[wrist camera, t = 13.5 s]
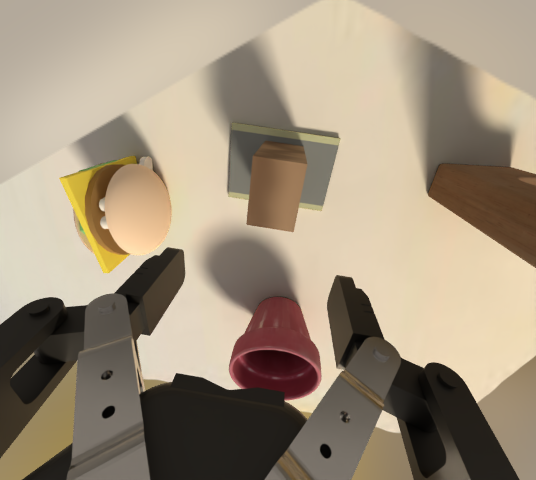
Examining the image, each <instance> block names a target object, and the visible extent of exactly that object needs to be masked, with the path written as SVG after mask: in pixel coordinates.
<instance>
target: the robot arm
mask: <svg viewBox="0 0 536 480" xmlns="http://www.w3.org/2000/svg"><path fill="white" fill-rule="evenodd" d="M184 279H185V263H184V252H183V250H181V249H175V248H169V247H168V248H166V249H165V250H164V251H163V252H162V254H161V255H160V256H158V255H155V256H153V257H151V258H149V259H147V260H146V261H145V262H144V263H143V264H142V265H141V266H140V268H138V269H137V270H136V271H135V273H134V274H132V275H131V276H130V277H129V278H128V279H127V281H126V282H125V283H124V284H123V285H122V286H121V287H120V288H119V289H118V290H117V291H116V292H115V293H114V294H106V295H103V296H100V297H98V298H96V299H94V300H93V301H92V302H90V303H89V304H88V305H86V306H74V307H65V305H64V303H63V301H62V300H61V299H59V298H54V297H49V298H43V299H39V300H36V301H33V302H31V303H29V304H27V305H25V306H24V307H22V308H21V309H19V310H18V311H17V312H16V313H14V314H13V315H12V316H11V317H9V318H8V319H7V320H6V321H4V322H3V323H2V324H1V325H0V458H1V456H2V455H3V454H4V453H5V451H6V450H7V449H8V448H9V447H10V445H11V444H12V443H13V441H14V440H15V439H16V438H17V436H18V435H19V434H20V433H21V431H22V430H23V428H24V427H25V426H26V425H27V424H28V422H29V421H30V420H31V419H32V417H33V416H34V415H35V413H36V412H37V411H38V410H39V408H40V407H41V406H42V404H43V403H44V402H45V401H46V399H47V398H48V397H49V396H50V394H51V393H52V392H53V390H54V389H55V388H56V387H57V385H58V384H59V383H60V381H61V380H62V379H63V378H64V377H65V375H66V374H67V373H68V371H69V370H70V369H71V368H72V366H73V365H74V364H75V363H76V361H77V360H78V362H77V380H76V381H77V382H76V396H75V414H74V431H73V432H74V433H73V443H72V444H71V445H69V446H68V447H66V448H65V449H64V450H62V451H61V452H59V453H58V454H57V455H55V456H54V457H53V458H51V459H50V460H49V461H47V462H46V463H44V464H43V465H42V466H40V467H39V468H37V469H36V470H35V471H33V472H32V473H31V474H29V475H28V476H26V477H25V478H24V479H22V480H351V479H352V477H353V475H354V472H355V470H356V468H357V466H358V463H359V461H360V459H361V456H362V454H363V452H364V450H365V447H366V445H367V443H368V441H369V439H370V437H371V434H372V432H373V430H374V428H375V425H376V423H377V421H378V419H379V416H380V414H381V412H382V410H384V411H386V412H388V413H390V414H392V415H393V416H395V417H397V420H398V424H399V427H400V431H401V434H402V438H403V442H404V445H405V449H406V452H407V456H408V460H409V464H410V467H411V471H412V475H413V478H414V480H519V478H518V476H517V474H516V472H515V471H514V469H513V467H512V466H511V464H510V462H509V460H508V458H507V456H506V455H505V453H504V451H503V449H502V447H501V446H500V444H499V442H498V440H497V439H496V437H495V435H494V433H493V431H492V430H491V428H490V426H489V425H488V422H487V421H486V419H485V417H484V415H483V414H482V412H481V410H480V408H479V406H478V405H477V403H476V401H475V399H474V397H473V396H472V394H471V392H470V390H469V389H468V387H467V385H466V384H465V382H464V381H463V379H462V378H461V377H460V376H459V375H458V374H457V373H456V372H454V371H453V370H452V369H450V368H448V367H447V366H445V365H442V364H439V363H429V364H427V365H426V366H425V368H422V367H420V366H418V365H415V364H413V363H411V362H409V361H406V360H404V359H402V358H401V357H400V355H399V353H398V351H397V350H396V348H395V347H394V346H393V345H391V344H390V343H389V342H388V341H386V340H384V337H383V334H382V332H381V329H380V327H379V324H378V321H377V319H376V316H375V314H374V311H373V308H372V307H371V303H370V301H369V298H368V296H367V295H366V294H365V293H364V292H363V291H362V289H358V288H356V287H355V284H354V281H353V279H352V277H345V276H339V275H337V276H336V277H335V279H334V282H333V285H332V288H331V291H330V294H329V297H328V302H327V310H328V317H329V323H330V329H331V335H332V342H333V348H334V354H335V361H336V367H337V368H338V369H343V370H344V371H342V372H341V373H340V374H339V376H338V377H337V379H336V380H335V381H334V383H333V384H332V386H331V387H330V389H329V390H328V391H327V393H326V394H325V396H324V397H323V399H322V400H321V402H320V403H319V404H318V406H317V407H316V409H315V410H314V412H313V413H312V415H311V416H310V417H309V419H308V420H307V418H306V417H305V416H304V415H303V414H302V413H301V412H300V411H299V410H297V409H296V408H295V407H293V406H292V405H290V404H289V403H287V402H285V401H284V399H285V392H281V391H276V390H270V389H264V388H258V387H257V388H247V389H237V390H227V389H224V388H222V387H220V386H218V385H216V384H214V383H212V382H210V381H208V380H206V379H204V378H201V377H195V376H190V375H184V374H178V373H176V375H175V377H174V379H173V382H169V383H164V384H160V385H158V386H155V387H152V388H150V389H148V390H146V391H145V387H144V382H143V377H142V370H141V364H140V358H139V352H138V346H137V341H136V340H137V339H138V337H139V336H140V335H141V334H144V335H149V336H150V335H151V333H152V332H153V330H154V329H155V327H156V325H157V324H158V322H159V321H160V319H161V318H162V316H163V314H164V313H165V311H166V310H167V308H168V306H169V305H170V303H171V302H172V300H173V299H174V297H175V295H176V294H177V292H178V291H179V289H180V287H181V286H182V284H183V282H184ZM33 352H34V353H35V355H34V356H33V357H32V358H31V359H30V360H29V361H28V362H27V363H26V364H25V365H24V366H23V367H22V368H21V369H20V370H19V371H18V372H17V373H16V374H15V375H14V376H13V377H12V375H13V373H14V372H15V371H16V370H17V368H18V367H19V366H20V365H21V364H22V363H23V362H24V361H25V360H26V359H27V358H28V357H29V356H30V355H31V354H32V353H33ZM11 377H12V378H11Z"/></svg>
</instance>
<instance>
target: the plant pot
mask: <svg viewBox="0 0 536 480" xmlns="http://www.w3.org/2000/svg"><path fill="white" fill-rule="evenodd" d="M229 372H230V375H231V378H232V379H233V381H234V382H235V383H236V384H237V385H238V386H239V387H240V388H242V389H247V388H257V387H258V388H264V389H270V390H276V391H281V392H285V399H284V400H294V399H299V398H302V397H305V396H307V395H309V394H311V393H312V392H313V391H315V390H316V389H317V387H318V386H319V384H320V382H321V364H320V356H319V351H318V349H317V347H316V346H315V344H314V343H313V342H312V341H311V339H310V336H309V333H308V330H307V327H306V324H305V321H304V318H303V314H302V311H301V309H300V307H299V306H298V305H297V304H296V303H295V302H294V301H292V300H290V299H288V298H284V297H271V298H268V299H265V300H264V301H262V302H261V303H260V304H259V305H258V307H257V309H256V311H255V313H254V315H253V317H252V319H251V321H250V323H249V325H248V327H247V329H246V331H245V333H244V334H243V335H242V336H241V337H240V338H239V339H238V340H237V341H236V343H235V345H234V349H233V352H232V356H231V360H230V364H229Z"/></svg>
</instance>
